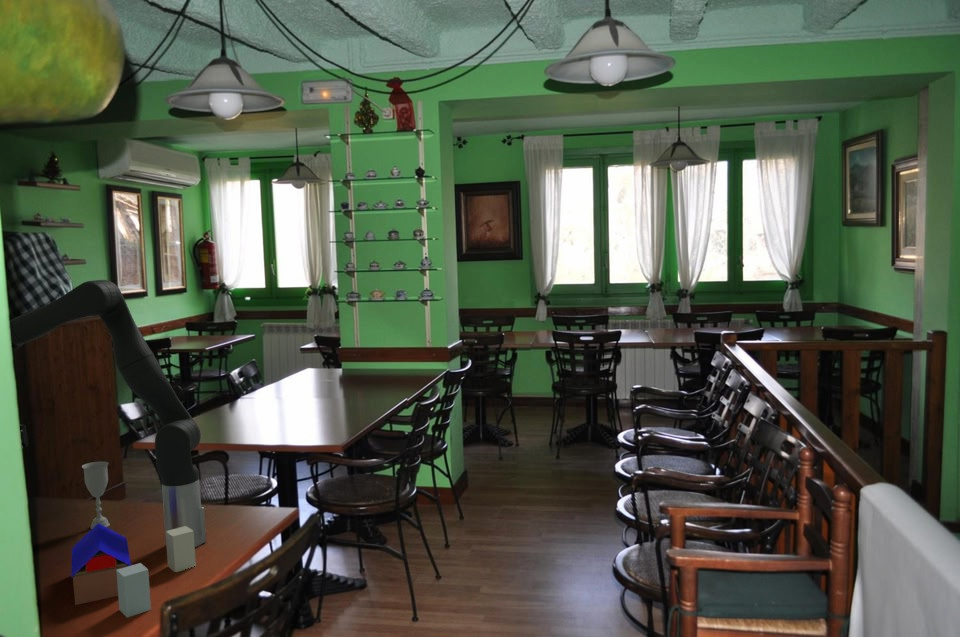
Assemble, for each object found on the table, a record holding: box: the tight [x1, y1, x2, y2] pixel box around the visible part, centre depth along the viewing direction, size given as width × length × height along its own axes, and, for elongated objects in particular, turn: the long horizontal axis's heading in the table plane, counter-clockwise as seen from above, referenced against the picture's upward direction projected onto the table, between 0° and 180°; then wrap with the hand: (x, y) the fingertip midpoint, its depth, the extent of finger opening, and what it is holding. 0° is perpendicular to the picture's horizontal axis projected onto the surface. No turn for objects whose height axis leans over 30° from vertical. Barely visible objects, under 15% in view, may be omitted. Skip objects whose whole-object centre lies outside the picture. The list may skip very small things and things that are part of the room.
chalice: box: [81, 461, 111, 530], centre depth 215 cm, size 7×7×18 cm
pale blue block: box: [116, 562, 152, 618], centre depth 162 cm, size 5×5×9 cm
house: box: [70, 523, 132, 606], centre depth 177 cm, size 12×20×12 cm, turn 28°
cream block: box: [164, 526, 197, 573], centre depth 185 cm, size 5×5×9 cm
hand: (2, 467), depth 195 cm, fingers open, 8 cm apart
